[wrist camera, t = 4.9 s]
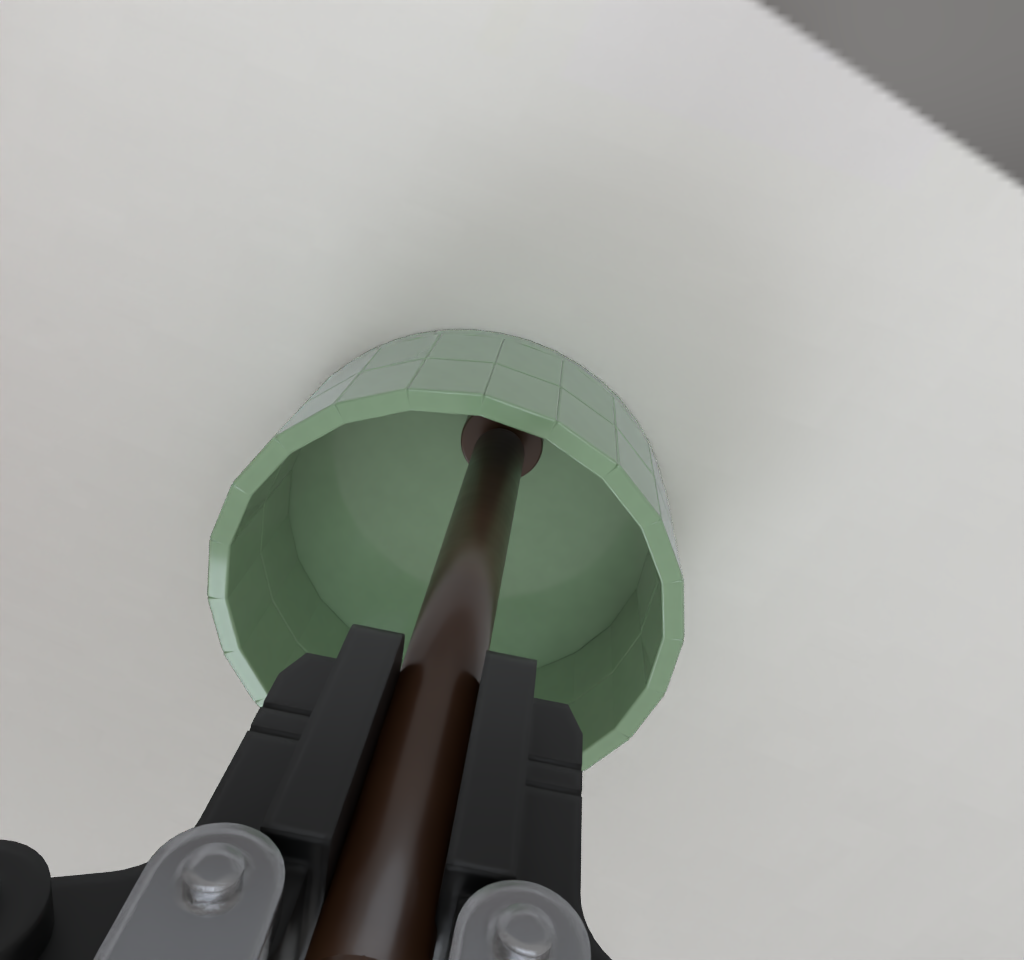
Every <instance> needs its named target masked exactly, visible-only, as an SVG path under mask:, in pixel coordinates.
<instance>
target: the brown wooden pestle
mask: <svg viewBox="0 0 1024 960" xmlns="http://www.w3.org/2000/svg"><path fill="white" fill-rule="evenodd" d="M543 443H544V439H543V438H540V437H537V436H535V435H532V434H529V433H526V432H523V431H521V430H518V429H515V428H512V427H509V426H507V425H504V424H501V423H498V422H495V421H493V420H490V419H487V418H484V417H481V416H474V415H468V416H467V419H466V422H465V424H464V427H463V429H462V433H461V449H462V452H463V455H464V457H465V459H466V461H467V463H468V467H467V470H466V473H465V476H464V479H463V482H462V485H461V488H460V491H459V494H458V497H457V500H456V503H455V506H454V510H453V513H452V516H451V519H450V522H449V525H448V528H447V531H446V534H445V537H444V540H443V543H442V546H441V549H440V552H439V555H438V558H437V561H436V564H435V567H434V570H433V573H432V576H431V579H430V582H429V585H428V588H427V591H426V594H425V597H424V600H423V603H422V606H421V609H420V612H419V615H418V618H417V621H416V624H415V627H414V630H413V633H412V636H411V639H410V642H409V645H408V648H407V651H406V654H405V657H404V660H403V663H402V666H401V670H400V674H399V677H398V680H397V683H396V686H395V689H394V692H393V695H392V698H391V702H390V705H389V708H388V711H387V714H386V717H385V720H384V723H383V726H382V729H381V732H380V735H379V738H378V741H377V744H376V747H375V750H374V753H373V756H372V759H371V762H370V765H369V768H368V771H367V774H366V777H365V780H364V783H363V786H362V789H361V792H360V795H359V798H358V801H357V804H356V807H355V810H354V813H353V816H352V819H351V822H350V825H349V828H348V831H347V834H346V837H345V840H344V843H343V846H342V850H341V853H340V856H339V859H338V862H337V865H336V868H335V871H334V874H333V877H332V880H331V883H330V886H329V889H328V892H327V895H326V898H325V901H324V904H323V906H322V908H321V911H320V914H319V917H318V920H317V923H316V926H315V929H314V932H313V935H312V938H311V941H310V944H309V947H308V950H307V953H306V956H305V959H304V960H433V956H434V951H435V945H436V940H437V928H436V924H435V922H434V921H435V915H436V910H437V905H438V900H439V894H440V889H441V884H442V879H443V873H444V868H445V863H446V858H447V853H448V847H449V842H450V837H451V832H452V826H453V821H454V816H455V811H456V805H457V800H458V795H459V790H460V785H461V779H462V774H463V769H464V764H465V758H466V753H467V748H468V743H469V737H470V732H471V727H472V722H473V717H474V711H475V706H476V701H477V696H478V690H479V685H480V680H481V675H482V670H483V665H484V660H485V655H486V650H489V649H490V643H491V638H492V632H493V627H494V621H495V616H496V610H497V605H498V599H499V594H500V588H501V583H502V577H503V572H504V566H505V561H506V555H507V550H508V544H509V539H510V533H511V528H512V522H513V517H514V511H515V506H516V500H517V495H518V489H519V484H520V478H521V477H522V476H524V475H526V474H527V473H529V472H530V471H531V470H532V469H533V468H534V467H535V466H536V464H537V463H538V461H539V459H540V457H541V454H542V450H543Z"/></svg>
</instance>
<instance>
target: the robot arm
mask: <svg viewBox="0 0 1024 960" xmlns="http://www.w3.org/2000/svg"><path fill="white" fill-rule="evenodd" d="M404 642H405V634H404V633H398V632H393V631H388V630H383V629H378V628H373V627H368V626H363V625H358V624H353V625H352V626H351V628H350V630H349V632H348V634H347V636H346V638H345V641H344V643H343V645H342V647H341V649H340V652H339V654H338V656H337V658H332V657H327V656H322V655H317V654H312V653H305V654H304V655H303V656H301V657H300V658H299V659H297V660H296V661H295V662H293V663H292V664H291V665H289V666H288V667H287V668H285V669H284V670H283V671H281V672H280V673H279V674H278V676H277V678H276V680H275V681H274V683H273V685H272V687H271V689H270V691H269V692H268V694H267V696H266V698H265V700H264V703H263V706H262V707H260V709H259V711H258V713H257V715H256V717H255V718H254V720H253V722H252V724H251V728H250V731H247V733H246V735H245V737H244V739H243V741H242V742H241V744H240V746H239V748H238V750H237V752H236V753H235V755H234V757H233V759H232V761H231V763H230V765H229V766H228V768H227V770H226V772H225V774H224V776H223V777H222V779H221V781H220V783H219V785H218V787H217V789H216V790H215V792H214V794H213V796H212V798H211V800H210V801H209V803H208V805H207V807H206V809H205V811H204V813H203V814H202V816H201V818H200V820H199V821H198V823H197V824H196V826H195V827H194V828H191V829H189V830H187V831H185V832H182V833H180V834H179V835H177V836H175V837H174V838H172V839H170V840H169V841H168V842H166V843H165V844H164V845H163V846H161V847H160V848H159V849H158V850H157V852H156V853H155V854H154V855H153V856H152V857H151V859H150V860H149V862H147V863H144V864H142V865H139V866H136V867H132V868H129V869H125V870H119V871H113V872H105V873H94V874H84V875H73V876H63V877H53V878H51V876H50V872H49V868H48V865H47V864H46V862H45V860H44V859H43V857H42V856H41V855H40V854H38V853H37V852H36V851H35V850H33V849H32V848H30V847H28V846H27V845H24V844H21V843H18V842H14V841H8V840H0V960H304V959H305V956H306V953H307V950H308V947H309V944H310V941H311V938H312V935H313V932H314V929H315V926H316V923H317V920H318V917H319V914H320V911H321V908H322V906H323V904H324V901H325V898H326V895H327V892H328V889H329V886H330V883H331V880H332V877H333V874H334V871H335V868H336V865H337V862H338V859H339V856H340V853H341V850H342V846H343V843H344V840H345V837H346V834H347V831H348V828H349V825H350V822H351V819H352V816H353V813H354V810H355V807H356V804H357V801H358V798H359V795H360V792H361V789H362V786H363V783H364V780H365V777H366V774H367V771H368V768H369V765H370V762H371V759H372V756H373V753H374V750H375V747H376V744H377V741H378V738H379V735H380V732H381V729H382V726H383V723H384V720H385V717H386V714H387V711H388V708H389V705H390V702H391V698H392V695H393V692H394V689H395V686H396V683H397V680H398V677H399V674H400V670H401V664H402V657H403V650H404ZM536 669H537V660H535V659H530V658H525V657H520V656H514V655H509V654H504V653H499V652H494V651H489V650H486V655H485V660H484V665H483V670H482V675H481V680H480V685H479V690H478V696H477V701H476V706H475V711H474V717H473V722H472V727H471V732H470V737H469V743H468V748H467V753H466V758H465V764H464V769H463V774H462V779H461V785H460V790H459V795H458V800H457V805H456V811H455V816H454V821H453V826H452V832H451V837H450V842H449V847H448V853H447V858H446V863H445V868H444V873H443V879H442V884H441V889H440V894H439V900H438V905H437V910H436V915H435V921H434V922H435V924H436V928H437V940H436V945H435V951H434V956H433V960H611V958H610V957H609V956H608V955H607V954H606V953H605V952H604V951H603V950H602V949H601V947H600V946H599V945H598V943H597V942H596V941H595V939H594V938H593V936H592V934H591V932H590V930H589V929H588V926H587V924H586V921H585V919H584V916H583V911H582V907H581V896H580V889H581V819H582V797H581V792H582V771H581V769H582V750H583V733H582V731H581V729H580V727H579V725H578V723H577V721H576V719H575V717H574V715H573V713H572V711H571V709H570V707H569V705H568V704H564V703H559V702H554V701H549V700H544V699H539V698H534V690H535V680H536Z"/></svg>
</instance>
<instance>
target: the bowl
mask: <svg viewBox="0 0 1024 960" xmlns="http://www.w3.org/2000/svg"><path fill="white" fill-rule="evenodd" d="M468 415H474V416H481V417H484V418H487V419H490V420H493V421H495V422H498V423H501V424H504V425H507V426H509V427H512V428H515V429H518V430H521V431H523V432H526V433H529V434H532V435H535V436H537V437H540V438H543V439H544V443H543V450H542V454H541V457H540V459H539V461H538V463H537V464H536V466H535V467H534V468H533V469H532V470H531V471H530V472H529V473H527V474H526V475H524V476H522V477H521V478H520V484H519V489H518V495H517V500H516V506H515V511H514V517H513V522H512V528H511V533H510V539H509V544H508V550H507V555H506V561H505V566H504V572H503V577H502V583H501V588H500V594H499V599H498V605H497V610H496V616H495V621H494V627H493V632H492V638H491V643H490V649H489V651H494V652H499V653H504V654H509V655H514V656H520V657H525V658H530V659H535V660H537V669H536V680H535V690H534V698H539V699H544V700H549V701H554V702H559V703H564V704H568V705H569V707H570V709H571V711H572V713H573V715H574V717H575V719H576V721H577V723H578V725H579V727H580V729H581V731H582V733H583V750H582V769H581V771H582V772H583V771H585V770H587V769H588V768H590V767H591V766H592V765H594V764H595V763H597V762H598V761H599V760H601V759H602V758H604V757H605V756H607V755H608V754H609V753H611V752H612V751H614V750H615V749H616V748H618V747H619V746H621V745H622V744H624V743H625V742H626V741H628V740H629V739H630V738H631V737H632V736H633V735H634V733H635V732H636V731H637V730H638V728H639V727H640V726H641V724H642V723H643V722H644V721H645V719H646V718H647V717H648V715H649V714H650V713H651V712H652V710H653V709H654V708H655V706H656V705H657V704H658V703H659V701H660V700H661V699H662V697H663V696H664V694H665V692H666V691H667V688H668V685H669V682H670V679H671V676H672V673H673V671H674V668H675V665H676V662H677V659H678V656H679V653H680V650H681V647H682V644H683V642H684V640H683V639H684V579H683V574H682V569H681V564H680V559H679V553H678V548H677V543H676V538H675V533H674V528H673V522H672V517H671V512H670V507H669V502H668V497H667V492H666V489H665V487H664V484H663V481H662V478H661V474H660V470H659V466H658V464H657V461H656V458H655V456H654V453H653V451H652V448H651V446H650V443H649V441H648V440H647V438H646V436H645V434H644V433H643V431H642V429H641V427H640V426H639V424H638V422H637V421H636V419H635V418H634V417H633V415H632V414H631V413H630V411H629V410H628V409H627V408H626V406H625V405H624V404H623V402H622V401H621V400H620V399H619V398H618V397H617V396H616V395H615V394H614V393H613V392H612V391H611V390H610V389H609V388H608V387H607V386H606V385H605V384H604V383H603V382H602V381H601V380H599V379H598V378H597V377H595V376H594V375H593V374H591V373H590V372H589V371H587V370H586V369H585V368H583V367H582V366H581V365H579V364H577V363H576V362H574V361H572V360H570V359H569V358H567V357H565V356H563V355H562V354H560V353H558V352H556V351H554V350H551V349H549V348H547V347H544V346H542V345H539V344H537V343H534V342H532V341H529V340H525V339H522V338H518V337H514V336H511V335H507V334H503V333H496V332H488V331H481V330H441V331H433V332H425V333H419V334H415V335H411V336H407V337H404V338H400V339H396V340H393V341H391V342H388V343H386V344H384V345H381V346H379V347H376V348H374V349H372V350H370V351H368V352H366V353H364V354H363V355H361V356H359V357H358V358H356V359H354V360H353V361H351V362H349V363H348V364H347V365H345V366H344V367H343V368H342V369H340V370H339V371H338V372H336V373H334V374H333V375H332V376H330V377H329V378H328V379H327V380H326V381H325V382H324V384H323V385H322V386H321V387H320V388H319V389H318V390H317V391H316V392H315V393H314V394H313V395H312V396H311V397H310V399H309V400H308V401H307V402H306V403H305V404H304V405H303V406H302V407H301V408H300V409H299V410H298V411H297V412H296V414H295V415H294V416H293V417H292V418H291V419H290V420H289V421H288V422H287V423H286V424H285V425H284V426H283V427H282V429H281V430H280V431H279V432H278V433H277V434H276V435H275V436H274V437H273V438H272V439H271V440H270V441H269V443H268V444H267V445H266V446H265V447H264V448H263V449H262V450H261V451H260V453H259V454H258V455H257V456H256V457H255V458H254V459H253V460H252V461H251V463H250V464H249V465H248V466H247V467H246V468H245V469H244V470H243V471H242V473H241V474H240V475H239V476H238V477H237V478H236V479H235V480H234V482H233V484H232V485H231V487H230V489H229V492H228V494H227V497H226V499H225V502H224V504H223V506H222V509H221V511H220V514H219V516H218V519H217V521H216V524H215V526H214V529H213V531H212V533H211V536H210V541H209V565H208V589H207V595H208V602H209V605H210V609H211V612H212V616H213V619H214V623H215V626H216V630H217V633H218V637H219V640H220V644H221V647H222V650H223V651H224V655H225V657H226V658H227V660H228V661H229V663H230V665H231V666H232V668H233V669H234V671H235V673H236V674H237V676H238V677H239V679H240V680H241V682H242V684H243V685H244V687H245V688H246V690H247V692H248V693H249V695H250V696H251V698H252V699H253V701H255V703H256V704H257V705H258V706H259V707H262V706H263V703H264V700H265V698H266V696H267V694H268V692H269V691H270V689H271V687H272V685H273V683H274V681H275V680H276V678H277V676H278V674H279V673H280V672H281V671H283V670H284V669H285V668H287V667H288V666H289V665H291V664H292V663H293V662H295V661H296V660H297V659H299V658H300V657H301V656H303V655H304V654H305V653H312V654H317V655H322V656H327V657H332V658H337V656H338V654H339V652H340V649H341V647H342V645H343V643H344V641H345V638H346V636H347V634H348V632H349V630H350V628H351V626H352V625H353V624H358V625H363V626H368V627H373V628H378V629H383V630H388V631H393V632H398V633H404V634H405V642H404V650H403V657H402V663H403V660H404V657H405V654H406V651H407V648H408V645H409V642H410V639H411V636H412V633H413V630H414V627H415V624H416V621H417V618H418V615H419V612H420V609H421V606H422V603H423V600H424V597H425V594H426V591H427V588H428V585H429V582H430V579H431V576H432V573H433V570H434V567H435V564H436V561H437V558H438V555H439V552H440V549H441V546H442V543H443V540H444V537H445V534H446V531H447V528H448V525H449V522H450V519H451V516H452V513H453V510H454V506H455V503H456V500H457V497H458V494H459V491H460V488H461V485H462V482H463V479H464V476H465V473H466V470H467V467H468V463H467V461H466V459H465V457H464V455H463V452H462V449H461V433H462V429H463V427H464V424H465V422H466V419H467V416H468ZM401 666H402V664H401Z"/></svg>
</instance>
